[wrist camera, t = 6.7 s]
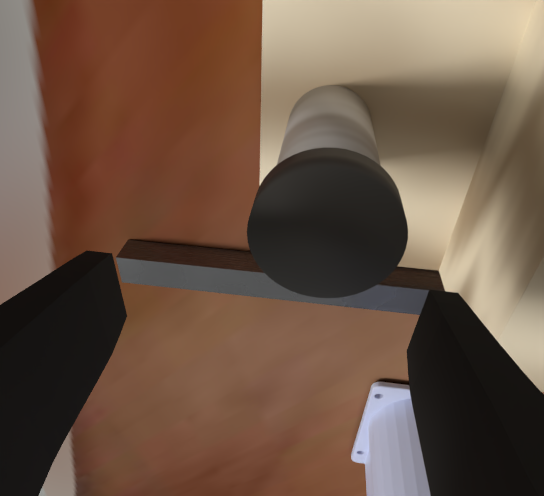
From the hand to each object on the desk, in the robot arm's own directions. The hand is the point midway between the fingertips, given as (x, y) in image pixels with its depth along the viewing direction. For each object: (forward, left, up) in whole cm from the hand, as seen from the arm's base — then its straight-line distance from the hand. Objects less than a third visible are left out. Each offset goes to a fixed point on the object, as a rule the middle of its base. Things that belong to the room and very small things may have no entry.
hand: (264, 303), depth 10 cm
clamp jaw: (+1, -5, -9) cm, 11 cm away
